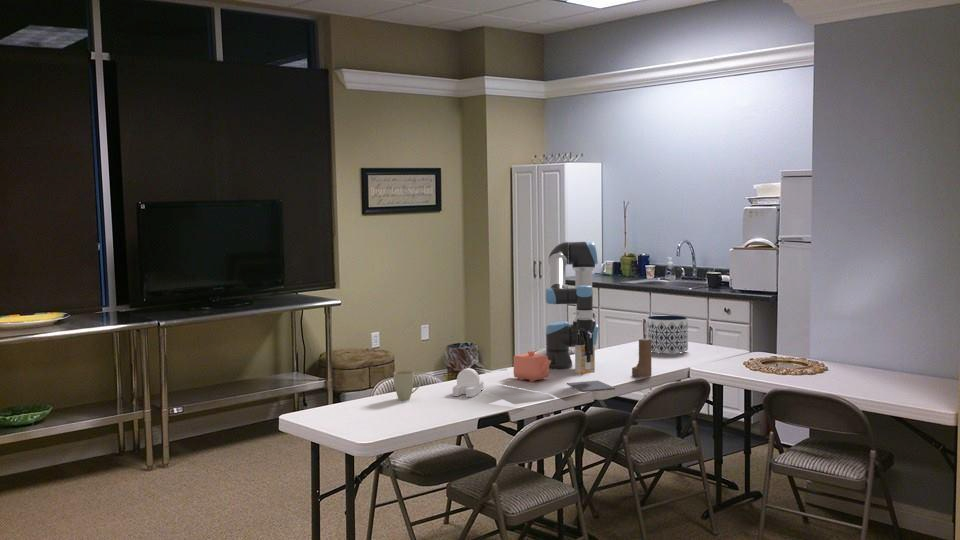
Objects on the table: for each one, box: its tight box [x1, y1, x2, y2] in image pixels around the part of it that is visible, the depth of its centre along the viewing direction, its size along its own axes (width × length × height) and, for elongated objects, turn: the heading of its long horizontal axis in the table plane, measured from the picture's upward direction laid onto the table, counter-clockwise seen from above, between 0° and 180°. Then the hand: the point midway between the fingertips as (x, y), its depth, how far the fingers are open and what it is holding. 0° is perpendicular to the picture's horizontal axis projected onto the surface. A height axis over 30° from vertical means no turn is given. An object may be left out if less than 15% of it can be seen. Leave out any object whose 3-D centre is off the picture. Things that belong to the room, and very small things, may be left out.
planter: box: [646, 314, 689, 354], centre depth 489 cm, size 22×22×20 cm
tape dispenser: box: [452, 367, 484, 398], centre depth 394 cm, size 10×18×11 cm, turn 163°
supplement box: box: [574, 345, 596, 375], centre depth 406 cm, size 8×5×13 cm, turn 117°
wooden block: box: [631, 338, 652, 378], centre depth 423 cm, size 9×4×18 cm, turn 123°
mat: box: [566, 380, 616, 393], centre depth 401 cm, size 18×16×1 cm
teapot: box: [513, 350, 551, 383], centre depth 417 cm, size 22×13×14 cm, turn 47°
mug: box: [393, 370, 423, 401], centre depth 380 cm, size 11×10×12 cm
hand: (585, 367), depth 406 cm, fingers closed on supplement box, 5 cm apart
